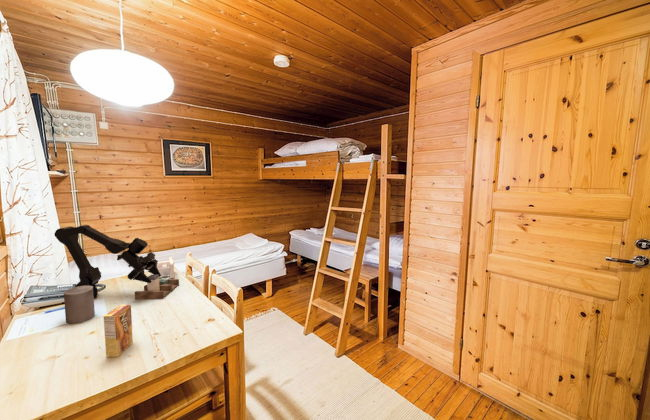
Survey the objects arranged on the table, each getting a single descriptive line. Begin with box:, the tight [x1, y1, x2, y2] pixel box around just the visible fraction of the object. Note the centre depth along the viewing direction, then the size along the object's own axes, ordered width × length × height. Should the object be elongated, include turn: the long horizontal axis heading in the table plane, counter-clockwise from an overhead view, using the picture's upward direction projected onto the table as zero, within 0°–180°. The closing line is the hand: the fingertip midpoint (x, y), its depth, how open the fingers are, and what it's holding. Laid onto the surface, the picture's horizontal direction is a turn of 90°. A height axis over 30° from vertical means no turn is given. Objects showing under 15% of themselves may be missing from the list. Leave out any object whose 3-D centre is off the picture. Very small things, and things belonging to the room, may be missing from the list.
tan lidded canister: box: [146, 274, 160, 291], centre depth 145 cm, size 4×4×10 cm
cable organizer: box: [155, 256, 175, 279], centre depth 172 cm, size 15×11×12 cm
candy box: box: [103, 304, 134, 358], centre depth 98 cm, size 9×4×15 cm, turn 6°
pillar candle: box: [63, 286, 96, 325], centre depth 119 cm, size 10×10×15 cm
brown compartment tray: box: [134, 278, 180, 300], centre depth 149 cm, size 14×18×5 cm
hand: (155, 279), depth 144 cm, fingers open, 9 cm apart
